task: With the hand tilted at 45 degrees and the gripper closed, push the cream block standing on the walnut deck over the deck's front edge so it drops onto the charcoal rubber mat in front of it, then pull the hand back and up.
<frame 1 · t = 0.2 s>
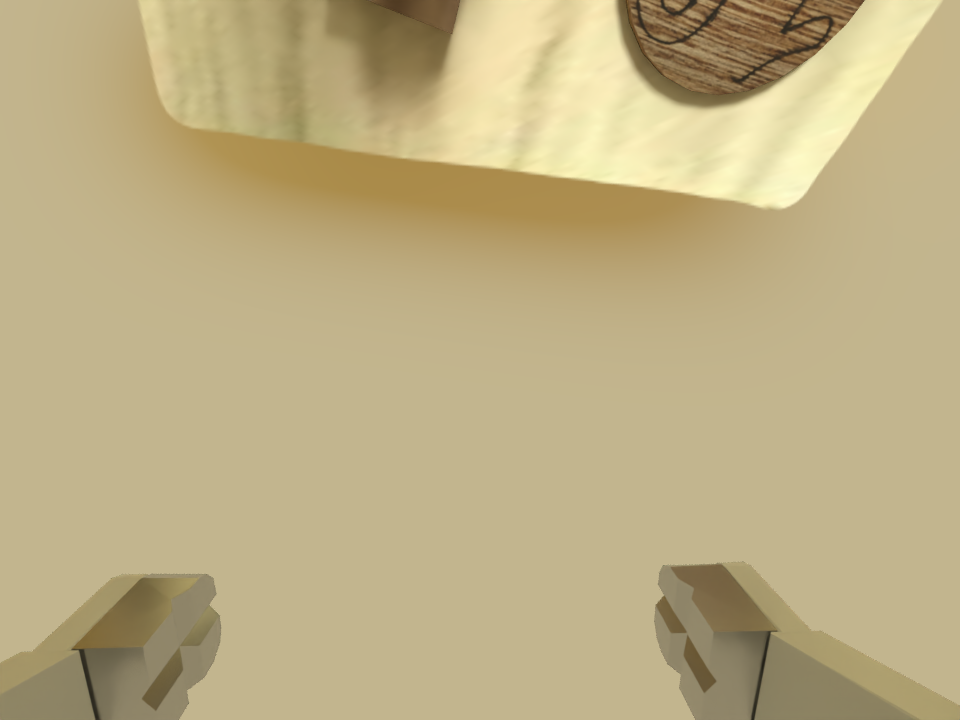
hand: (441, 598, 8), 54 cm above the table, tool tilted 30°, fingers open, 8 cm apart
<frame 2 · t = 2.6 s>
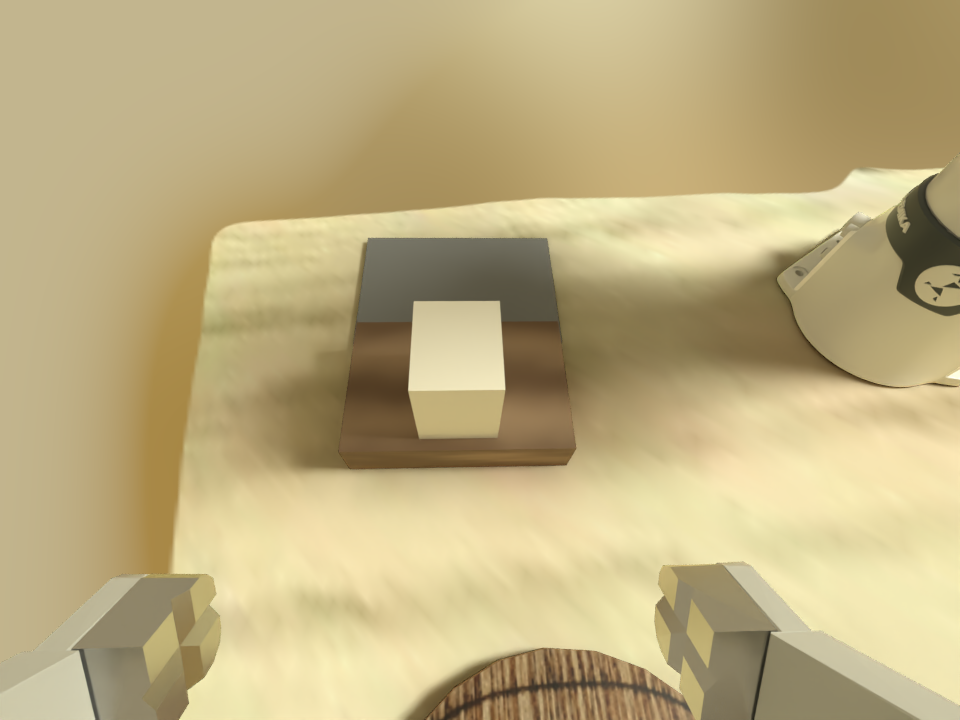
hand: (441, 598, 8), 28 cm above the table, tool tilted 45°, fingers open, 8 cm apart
cream block: (458, 397, 37), point 4 cm above the table, touching walnut deck
charcoal mat: (458, 290, 48), on the table
walnut deck: (458, 401, 41), on the table
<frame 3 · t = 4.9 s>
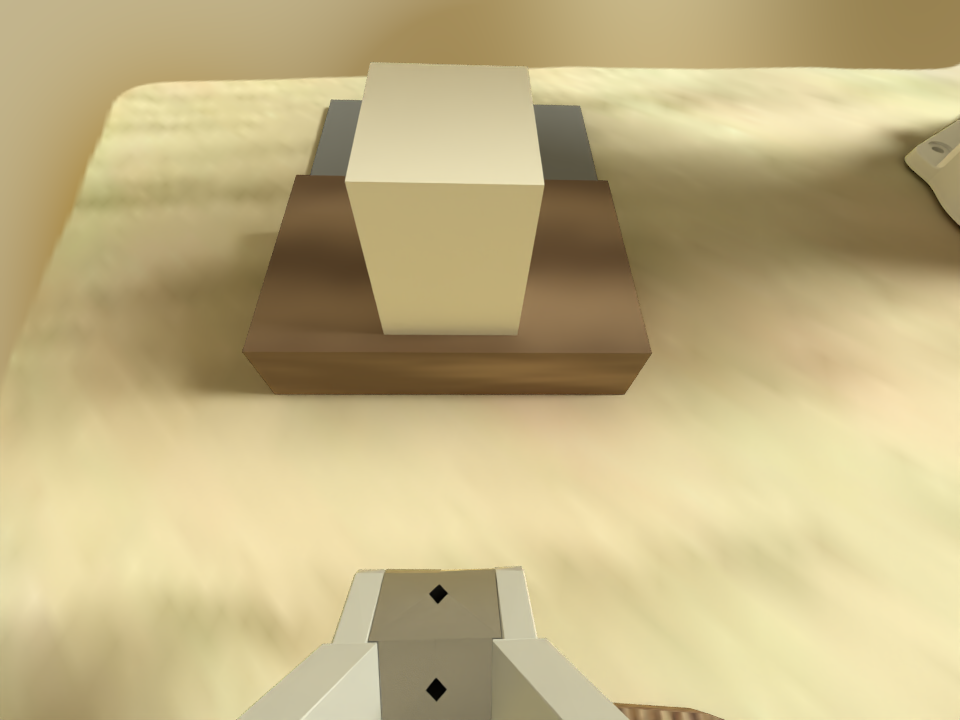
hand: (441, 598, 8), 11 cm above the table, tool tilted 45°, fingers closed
cream block: (452, 276, 22), point 4 cm above the table, touching walnut deck
charcoal mat: (456, 163, 33), on the table
walnut deck: (453, 302, 26), on the table
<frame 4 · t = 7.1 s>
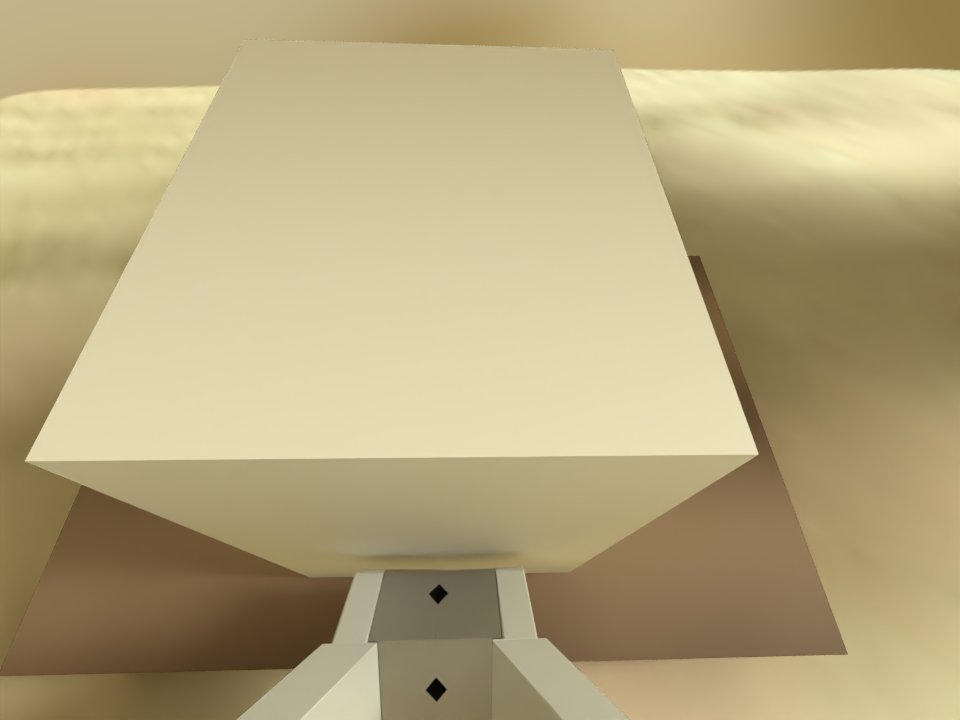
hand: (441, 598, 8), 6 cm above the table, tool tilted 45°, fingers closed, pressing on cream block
cream block: (444, 434, 12), point 4 cm above the table, touching gripper, walnut deck
walnut deck: (448, 457, 16), on the table
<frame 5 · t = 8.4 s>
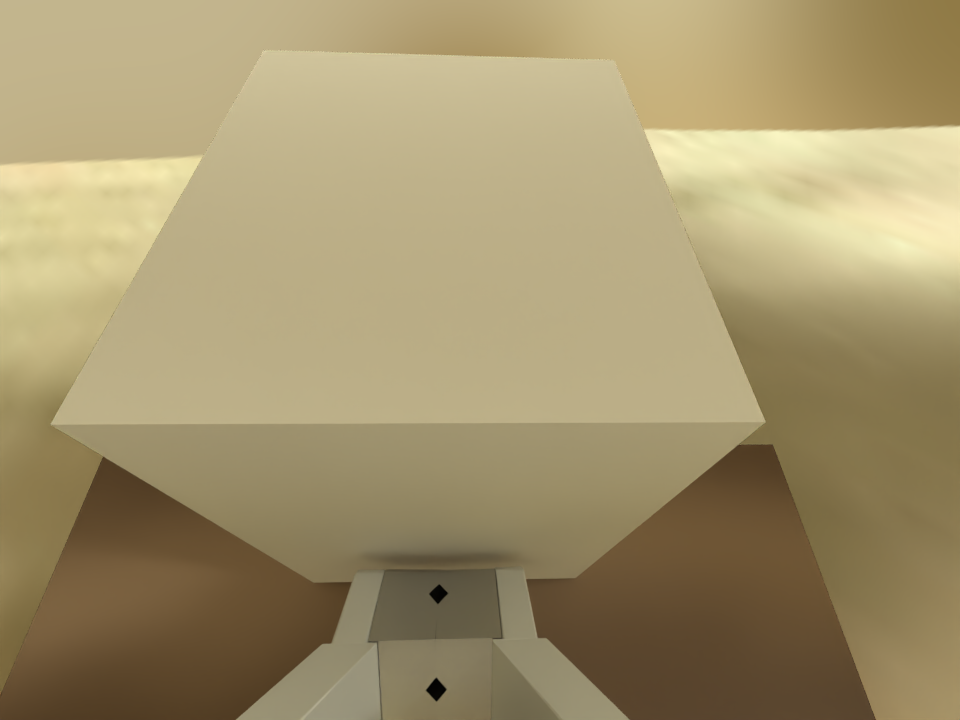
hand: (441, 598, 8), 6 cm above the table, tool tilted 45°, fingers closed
cream block: (448, 439, 12), point 4 cm above the table, touching walnut deck
walnut deck: (448, 704, 13), on the table
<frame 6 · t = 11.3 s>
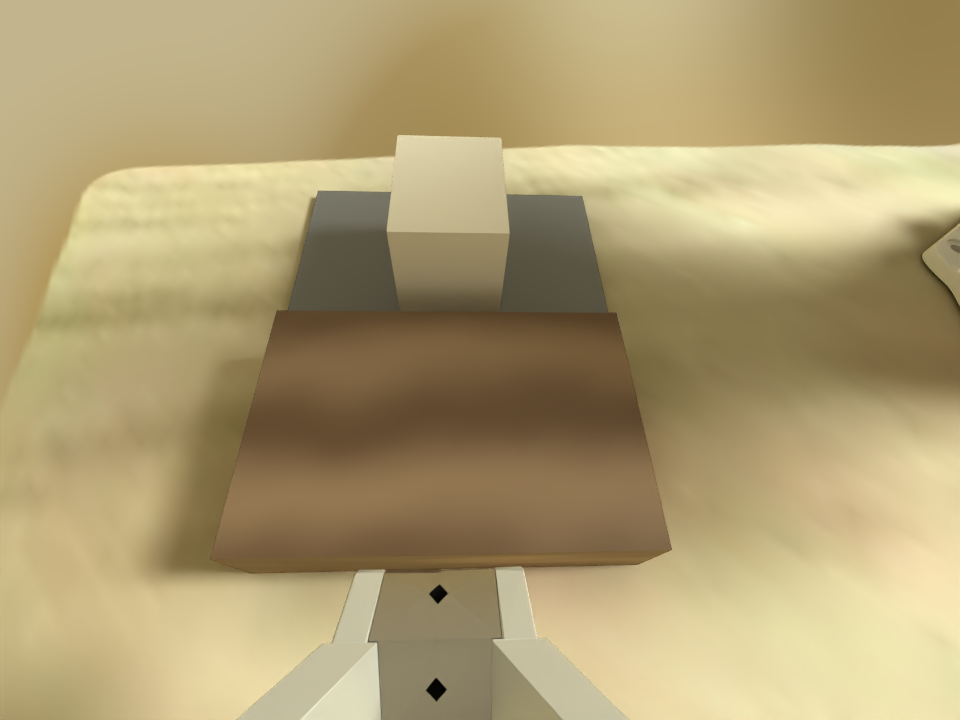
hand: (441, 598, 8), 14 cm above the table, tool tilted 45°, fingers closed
cream block: (449, 281, 25), point 4 cm above the table, tilted 90°, touching charcoal mat
charcoal mat: (451, 267, 31), on the table
walnut deck: (449, 446, 24), on the table
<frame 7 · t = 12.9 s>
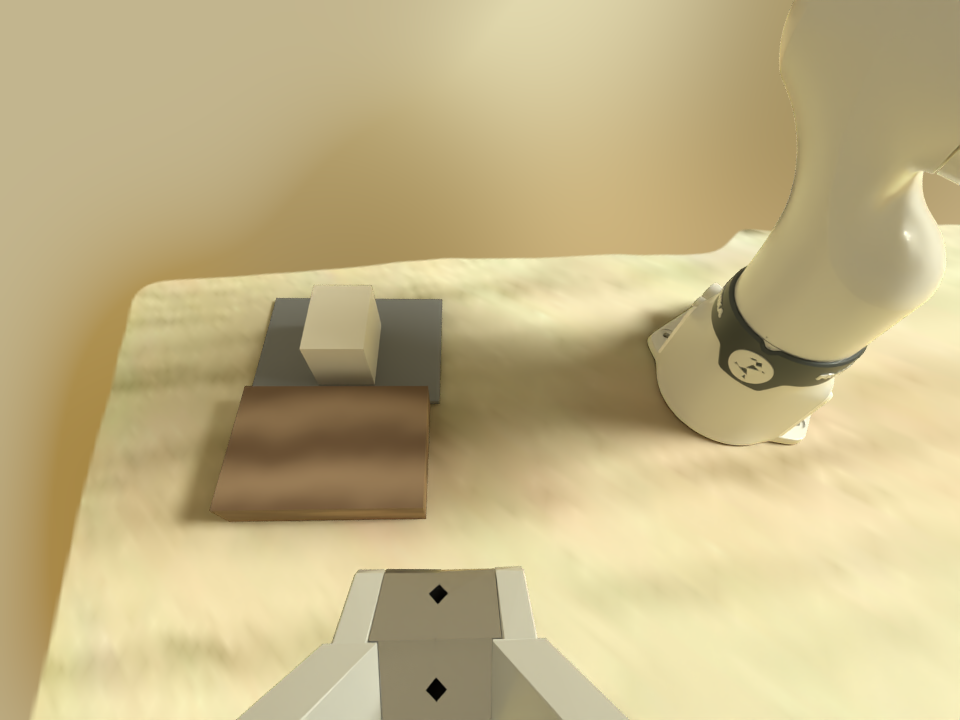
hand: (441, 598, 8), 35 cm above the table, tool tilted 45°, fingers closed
cream block: (339, 367, 46), point 4 cm above the table, tilted 90°, touching charcoal mat
charcoal mat: (353, 349, 52), on the table
walnut deck: (337, 458, 45), on the table
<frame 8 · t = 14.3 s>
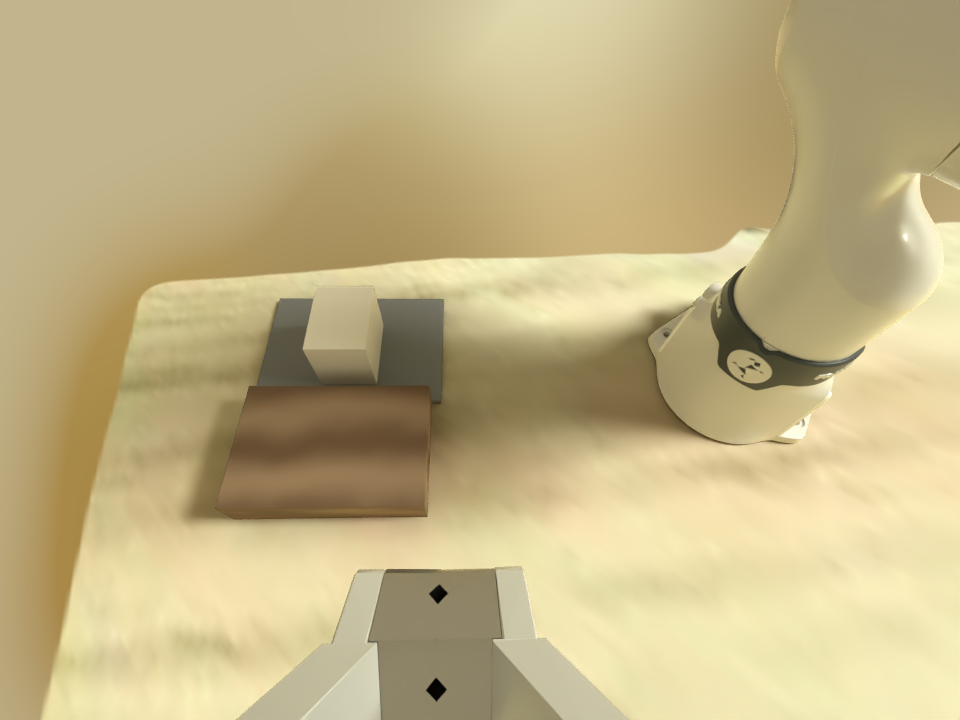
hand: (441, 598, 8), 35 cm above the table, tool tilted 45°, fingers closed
cream block: (342, 367, 47), point 4 cm above the table, tilted 90°, touching charcoal mat
charcoal mat: (356, 349, 53), on the table
walnut deck: (340, 456, 46), on the table
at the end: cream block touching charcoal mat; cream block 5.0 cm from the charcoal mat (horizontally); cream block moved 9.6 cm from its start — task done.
